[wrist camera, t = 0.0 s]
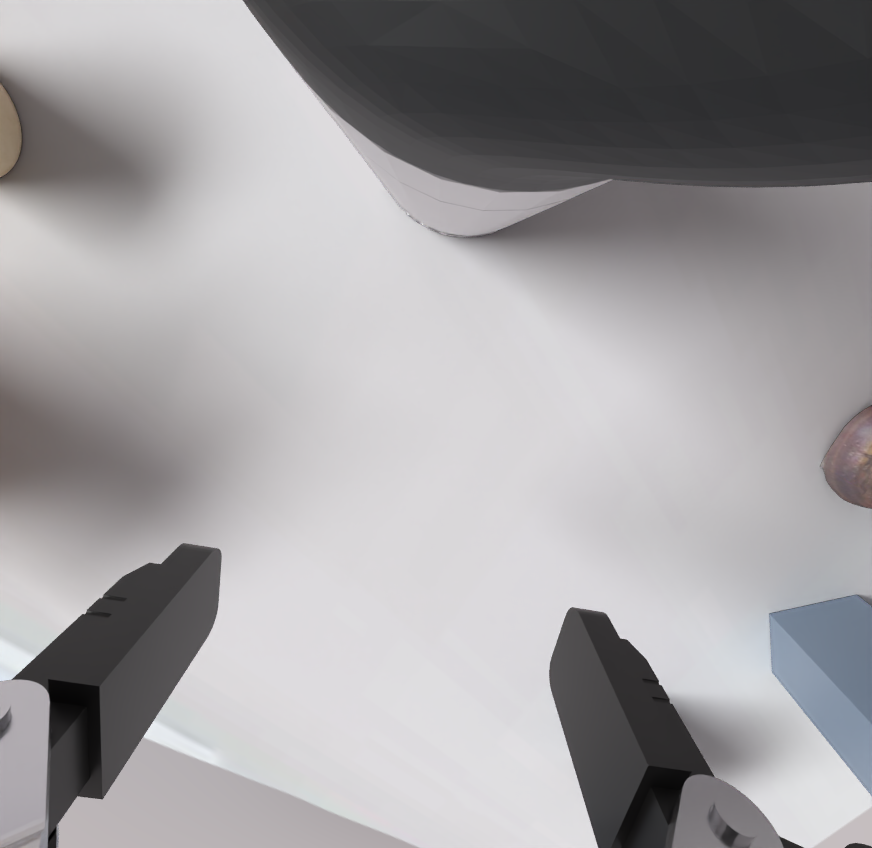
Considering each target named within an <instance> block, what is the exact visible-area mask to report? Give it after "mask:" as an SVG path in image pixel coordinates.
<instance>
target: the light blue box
mask: <svg viewBox="0 0 872 848" xmlns="http://www.w3.org/2000/svg"><path fill="white" fill-rule="evenodd" d="M769 616H770V638H771V659H772V673H773V674H774V675H775V677H776V678H777V679H778V680H779V681H780V683H781V684H782V685H783V686H784V688H785V689H786V690H787V691H788V693H789V694H790V695H791V696H792V698H793V699H794V700H795V701H796V703H797V704H798V705H799V706H800V708H801V709H802V710H803V711H804V713H805V714H806V715H807V716H808V717H809V719H810V720H811V721H812V722H813V724H814V725H815V726H816V727H817V729H818V730H819V731H820V732H821V734H822V735H823V736H824V737H825V739H826V740H827V741H828V742H829V744H830V745H831V746H832V747H833V749H834V750H835V751H836V752H837V754H838V755H839V756H840V757H841V758H842V760H843V761H844V762H845V763H846V765H847V766H848V767H849V768H850V770H851V771H852V772H853V773H854V775H855V776H856V777H857V778H858V780H859V781H860V782H861V783H862V785H863V786H864V787H865V788H866V790H867V791H868V792H869V793H870V794H871V796H872V606H870V605H869V604H868V603H867V602H865V601H864V600H863V599H862V598H860V597H859V596H858V595H854V596H849V597H845V598H840V599H835V600H831V601H826V602H821V603H817V604H812V605H808V606H803V607H798V608H794V609H789V610H784V611H780V612H775V613H771V614H769Z"/></svg>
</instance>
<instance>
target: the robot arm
mask: <svg viewBox="0 0 872 848" xmlns="http://www.w3.org/2000/svg"><path fill="white" fill-rule="evenodd" d="M243 1H244V3H245V4H246V5H247V7H248V8H249V10H250V11H251V12H252V14H253V15H254V17H255V18H256V19H257V21H258V22H259V23H260V25H261V26H262V27H263V29H264V30H265V31H266V33H267V34H268V35H269V36H270V38H271V39H272V40H273V42H274V43H275V44H276V46H277V47H278V48H279V49H280V51H281V52H282V54H283V55H284V56H285V58H286V59H287V60H288V61H289V63H290V64H291V65H292V67H293V68H294V69H295V71H296V72H297V73H298V75H299V76H300V77H301V79H302V80H303V81H304V82H305V84H306V85H307V86H308V88H309V89H310V90H311V92H312V93H313V94H314V96H315V97H316V98H317V99H318V101H319V102H320V103H321V105H322V106H323V107H324V109H325V110H326V111H327V113H328V114H329V115H330V116H331V117H332V118H333V120H334V121H335V122H336V124H337V125H338V126H339V128H340V129H341V130H342V132H343V133H344V134H345V135H346V137H347V138H348V139H349V141H350V142H351V143H352V145H353V146H354V147H355V149H356V150H357V151H358V153H359V154H360V155H361V157H362V158H363V159H364V161H365V162H366V163H367V164H368V166H369V167H370V168H371V170H372V171H373V172H374V174H375V175H376V176H377V178H378V179H379V180H380V182H381V183H382V184H383V186H384V187H385V188H386V190H387V191H388V192H389V194H390V195H391V196H392V197H393V199H394V200H395V201H396V203H397V204H398V205H399V206H400V207H401V208H402V209H403V210H404V211H405V212H406V214H407V215H408V216H410V217H411V218H412V219H413V220H415V221H416V222H418V223H419V224H421V225H423V226H425V227H426V228H428V229H430V230H432V231H435V232H438V233H441V234H444V235H447V236H456V237H474V236H476V237H477V236H483V235H487V234H492V233H495V231H497V230H500V229H502V228H505V227H508V226H510V225H512V224H515V223H517V222H519V221H522V220H524V219H526V218H528V217H531V216H533V215H535V214H538V213H540V212H542V211H544V210H547V209H549V208H551V207H553V206H556V205H558V204H560V203H563V202H565V201H567V200H569V199H571V198H574V197H576V196H578V195H580V194H582V193H584V192H587V191H589V190H591V189H593V188H596V187H598V186H600V185H602V184H605V183H607V182H609V181H612V180H624V181H636V182H648V183H660V184H676V185H693V186H717V187H797V186H821V185H836V184H848V183H862V182H872V0H243ZM220 571H221V551H220V550H219V549H217V548H210V547H204V546H198V545H192V544H186V543H184V544H181V545H180V546H179V547H178V548H177V549H176V550H175V551H174V552H173V553H172V554H171V555H170V556H169V557H168V558H167V559H166V560H165V561H164V562H163V563H162V564H161V565H160V564H154V563H148V564H146V565H144V566H142V567H140V568H139V569H137V570H135V571H133V572H131V573H129V574H127V575H125V576H123V577H122V578H121V579H120V580H119V581H118V582H117V583H116V584H114V585H113V586H112V587H111V588H110V589H109V590H108V591H107V592H106V593H105V594H104V596H103V598H102V599H101V598H99V599H98V600H97V601H96V602H95V603H94V604H93V605H92V606H91V607H90V608H89V609H88V610H87V612H86V614H82V615H81V616H80V617H79V618H78V619H77V620H76V621H75V622H73V623H72V624H71V625H70V626H69V627H68V628H67V629H66V630H65V631H64V632H63V633H62V634H61V635H59V636H58V637H57V638H56V639H55V640H54V641H53V642H52V643H51V644H50V645H49V646H48V647H47V648H45V649H44V650H43V651H42V652H41V653H40V654H39V655H38V656H37V657H36V658H35V659H34V660H32V661H31V662H30V663H29V664H28V665H27V666H26V667H25V668H24V669H23V670H22V671H21V672H20V673H18V674H17V675H16V676H15V677H14V678H13V679H12V680H7V681H0V848H58V839H59V837H58V836H59V828H58V823H59V821H60V820H61V819H62V817H63V816H64V814H65V813H66V812H67V810H68V809H69V807H70V806H71V804H72V803H73V801H74V800H75V799H76V797H77V796H80V797H88V798H97V799H103V798H104V796H105V795H106V793H107V792H108V790H109V789H110V787H111V785H112V784H113V782H114V781H115V779H116V778H117V776H118V775H119V773H120V772H121V770H122V769H123V767H124V765H125V764H126V762H127V761H128V759H129V758H130V756H131V755H132V753H133V752H134V750H135V748H136V747H137V745H138V744H139V742H140V741H141V739H142V738H143V736H144V735H145V733H146V731H147V730H148V728H149V727H150V725H151V724H152V722H153V721H154V719H155V718H156V716H157V714H158V713H159V711H160V710H161V708H162V707H163V705H164V704H165V702H166V700H167V699H168V697H169V696H170V694H171V693H172V691H173V690H174V688H175V687H176V685H177V683H178V682H179V680H180V679H181V677H182V676H183V674H184V673H185V671H186V670H187V668H188V666H189V665H190V663H191V662H192V660H193V659H194V657H195V656H196V654H197V653H198V651H199V649H200V648H201V646H202V645H203V643H204V642H205V640H206V639H207V637H208V635H209V633H210V631H211V629H212V627H213V624H214V621H215V618H216V615H217V610H218V601H219V586H220ZM549 678H550V687H551V691H552V694H553V698H554V701H555V704H556V708H557V711H558V714H559V718H560V721H561V725H562V728H563V731H564V735H565V738H566V741H567V745H568V748H569V751H570V755H571V758H572V761H573V765H574V768H575V771H576V775H577V778H578V781H579V785H580V788H581V791H582V795H583V798H584V801H585V805H586V808H587V811H588V815H589V818H590V821H591V825H592V828H593V831H594V835H595V838H596V842H597V845H598V848H803V847H801V846H799V845H797V844H795V843H792V842H790V841H788V840H786V839H784V838H782V837H780V836H778V834H777V832H776V831H775V829H774V827H773V826H772V824H771V823H770V822H769V820H768V819H767V818H766V816H765V815H764V814H763V813H762V812H761V811H760V809H759V808H758V807H757V806H756V805H755V804H754V803H753V802H752V801H751V800H750V799H748V798H747V797H746V796H745V795H744V794H743V793H741V792H740V791H739V790H737V789H736V788H734V787H733V786H731V785H730V784H728V783H726V782H724V781H722V780H720V779H718V778H715V777H714V775H713V773H712V772H711V770H710V768H709V766H708V765H707V763H706V761H705V759H704V758H703V756H702V754H701V753H700V751H699V749H698V747H697V746H696V744H695V742H694V741H693V739H692V737H691V735H690V734H689V732H688V730H687V729H686V727H685V725H684V723H683V722H682V720H681V718H680V717H679V715H678V713H677V711H676V710H675V708H674V706H673V704H670V703H669V700H670V699H669V698H668V696H667V694H666V692H665V691H664V689H663V687H662V686H661V685H659V680H658V679H657V677H656V675H655V674H654V672H653V670H652V668H651V667H650V665H649V663H648V661H647V660H646V659H645V658H644V657H643V656H642V655H641V654H640V653H639V651H638V650H637V649H636V648H635V647H634V646H633V645H632V644H631V643H630V642H629V641H628V640H625V639H620V638H619V636H618V634H617V632H616V630H615V628H614V627H613V625H612V623H611V621H610V619H609V617H608V616H607V615H606V614H605V613H604V612H598V611H592V610H586V609H579V608H573V607H572V608H570V609H569V610H568V612H567V614H566V616H565V619H564V622H563V625H562V628H561V631H560V634H559V637H558V640H557V643H556V646H555V649H554V652H553V655H552V658H551V662H550V670H549ZM845 848H872V847H871V846H868V845H864V844H858V843H853V844H849V845H847V846H846V847H845Z"/></svg>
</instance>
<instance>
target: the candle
mask: <svg viewBox="0 0 872 848" xmlns="http://www.w3.org/2000/svg"><path fill="white" fill-rule="evenodd" d="M21 143H22V134H21V126H20V121H19V118H18V114H17V112H16V109H15V106H14V104H13V102H12V100H11V98H10V96H9V95H8V93H7V92H6V90H5V89H4V87H3V86H2V85H1V83H0V177H2V176H4V175H5V174H7V173H8V172H9V171H10V170H11V169H12V168H13V167H14V165H15V163H16V162H17V160H18V157H19V155H20V150H21Z"/></svg>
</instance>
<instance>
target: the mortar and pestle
mask: <svg viewBox="0 0 872 848" xmlns="http://www.w3.org/2000/svg"><path fill="white" fill-rule="evenodd" d="M820 467H821V468H822V469H823V470H824V473H825V477H826V480H827V482H828V484H829V485H830V487H831V488H832V489H833V490H834V491H835V492H836V493H837V494H838V495H839V496H840V497H841V498H842V499H844V500H845V501H847V502H850V503H852V504H855V505H858V506H862V507H866V508H872V406H870V407H868V408H866V409H865V410H863V411H862V412H860V413H859V414H858V415H856V416H855V417H854V418H853V419H852V420H851V421H850V422H849V423H848V424H847V425H846V426H845V427H844V428H843V430H842V431H841V433H840V434H839V436H838V437H837V438H836V440H835V441H834V443H833V444H832V446H831V447H830V449H829V451H828V452H827V454H826V456H825V458H824V460H823V461H822V463H821V465H820Z"/></svg>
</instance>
